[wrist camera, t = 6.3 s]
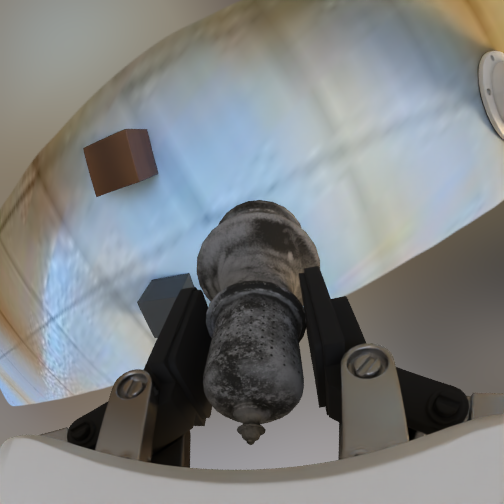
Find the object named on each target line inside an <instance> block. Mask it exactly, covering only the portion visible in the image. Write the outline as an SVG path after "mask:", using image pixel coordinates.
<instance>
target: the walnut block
mask: <svg viewBox="0 0 504 504" xmlns="http://www.w3.org/2000/svg"><path fill="white" fill-rule="evenodd" d="M83 149H84V154H85V158H86V162H87V165H88V169H89V173H90V177H91V180H92V184H93V187H94V190H95V194H96V197H98V196H101V195H104V194H106V193H109V192H112V191H115V190H117V189H120V188H123V187H126V186H129V185H132V184H135V183H138V182H140V181H143V180H145V179H147V178H150V177H152V176H154V175H157V174H158V171H157V167H156V163H155V160H154V156H153V152H152V148H151V144H150V140H149V136H148V132H147V129H124V130H122V131H120V132H117V133H115V134H113V135H110V136H108V137H106V138H104V139H102V140H99V141H97V142H95V143H93V144H91V145H89V146H87V147H85V148H83Z"/></svg>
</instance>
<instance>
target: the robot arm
mask: <svg viewBox="0 0 504 504" xmlns="http://www.w3.org/2000/svg"><path fill="white" fill-rule="evenodd" d="M478 77H479V87H480V92H481V97H482V100H483V104H484V107H485V110H486V113H487V115H488V117H489V119H490V122H491V123H492V125H493V127H494V129H495V130H496V132H497V133H498V134H499V136H500V137H501V138H502V139H503V140H504V53H502V52H499V51H490V52H487V53H485V54H484V55H483V56H482V58H481V60H480V64H479V74H478ZM299 280H300V287H301V293H302V300H303V307H304V311H305V316H306V329H307V336H308V341H309V347H310V353H311V359H312V364H313V370H314V376H315V383H316V389H317V395H318V402H319V407H325V406H326V412H327V415H329V417H330V418H332V419H334V420H336V421H338V422H339V460H336V461H331V462H325V463H319V464H312V465H305V466H297V467H287V468H276V469H257V470H213V469H197V468H190V429H192V428H193V426H205V421H206V418H209V417H210V415H211V410H212V405H211V404H210V402H209V401H208V399H207V397H206V395H205V393H204V386H203V375H204V371H205V366H206V362H207V357H208V353H209V349H210V344H211V340H212V338H211V336H210V334H209V331H208V329H207V326H206V313H207V310H208V306H207V303H206V300H205V298H204V295H203V292H202V291H201V290H197V288H196V287H191V288H185V289H181V290H180V292H179V294H178V296H177V298H176V300H175V302H174V304H173V306H172V308H171V310H170V313H169V315H168V317H167V319H166V321H165V323H164V325H163V328H162V330H161V332H160V334H159V336H158V339H157V341H156V343H155V345H154V347H153V350H152V352H151V354H150V357H149V359H148V361H147V364H146V366H145V368H144V370H138V369H136V370H131V371H128V372H126V373H124V374H123V375H122V376H120V377H119V378H118V379H117V380H116V382H115V384H114V386H113V388H112V391H111V394H110V398H109V401H108V402H106V403H105V404H103V405H101V406H100V407H98V408H96V409H94V410H93V411H91V412H89V413H88V414H86V415H84V416H82V417H80V418H79V419H77V420H76V421H74V422H73V423H72V425H71V426H70V427H69V429H68V428H63V429H59V430H56V431H53V432H49V433H45V434H41V435H20V436H15V437H12V438H9V439H8V440H6V441H5V442H4V443H3V444H2V446H1V447H0V504H504V394H495V393H494V394H493V393H473V394H472V396H466V395H465V394H464V393H463V392H462V391H461V390H460V389H458V388H456V387H454V386H451V385H447V384H444V383H441V382H438V381H435V380H432V379H429V378H426V377H423V376H420V375H417V374H414V373H411V372H409V371H406V370H403V369H400V368H397V367H396V366H395V362H394V358H393V356H392V354H391V353H390V351H389V350H388V349H386V348H385V347H383V346H381V345H377V344H366V341H365V339H364V337H363V334H362V332H361V329H360V327H359V324H358V322H357V320H356V317H355V315H354V313H353V311H352V308H351V306H350V304H349V302H348V299H347V297H346V296H344V297H339V298H334V299H330V296H329V293H328V290H327V288H326V285H325V282H324V279H323V277H322V274H321V271H320V269H319V266H314V267H309V268H304V272H303V273H299Z"/></svg>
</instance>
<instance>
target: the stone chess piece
mask: <svg viewBox="0 0 504 504" xmlns="http://www.w3.org/2000/svg"><path fill="white" fill-rule="evenodd" d="M314 266H319V269H320V259H319V256H318V253H317V250H316V247H315V245H314V243H313V242H312V240H311V239H310V237H309V236H308V234H307V233H306V232H305V231H304V230H303V229H302V228H301V225H300V223H299V222H298V220H297V219H296V218H295V216H294V215H293V214H292V213H291V212H290V211H288V210H287V209H286V208H285V207H283V206H281V205H278V204H276V203H274V202H269V201H263V200H257V201H248V202H245V203H243V204H240V205H237V206H236V207H234V208H233V209H231V210H230V211H229V212H227V213H226V215H225V216H224V217H223V218H222V220H221V221H220V222H219V225H218V226H217V227H216V228H214V229H213V230H212V231H211V233H210V234H209V235H208V237H207V238H206V239H205V240H204V242H203V244H202V246H201V249H200V252H199V254H198V257H197V275H198V280H199V284H200V286H201V288H202V290H203V292H204V294H205V295H206V297H207V298H208V299H209V300H210V301H211V302H210V305H209V307H208V310H207V313H206V326H207V329H208V331H209V334H210V336H211V338H212V340H211V344H210V349H209V353H208V357H207V362H206V366H205V371H204V375H203V386H204V393H205V395H206V397H207V399H208V401H209V402H210V404H211V405H212V406H213V407H214V408H215V409H216V411H218V412H219V413H221V414H222V415H224V416H225V417H228V418H230V419H232V420H235V421H237V422H241V423H243V425H241V426H239V427H238V429H237V431H238V433H239V434H241V435H242V438H243V439H244V440H246V441H247V443H248V444H250V445H252V444H254V442H255V441H256V440H258V439H259V437H260V435H262V434H264V433H265V429H264V427H263V426H261V425H260V424H263V423H268V422H271V421H274V420H277V419H280V418H282V417H284V416H285V415H287V414H288V413H290V412H291V410H293V408H294V407H295V406H296V405H297V404H298V403H299V401H300V398H301V397H302V393H303V388H304V378H303V370H302V362H301V355H300V349H299V342H300V340H301V339H302V338H303V336H304V333H305V330H306V316H305V311H304V308H303V300H302V293H301V287H300V280H299V273H303V272H304V268H309V267H314Z"/></svg>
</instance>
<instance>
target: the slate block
mask: <svg viewBox="0 0 504 504" xmlns="http://www.w3.org/2000/svg"><path fill="white" fill-rule="evenodd" d="M191 287H194V285H193V283H192V280H191V277H190V274H189V273H188V274H183V275H177V276H172V277H166V278H160V279H155V280H152V281H151V282H150V284H149V285H148V287H147V288H146V290H145V291H144V293H143V294H142V296H141V298H140V299H139V301H138V302H137V303H138V305H139V307H140V310H141V312H142V314H143V316H144V318H145V320H146V322H147V324H148V326H149V328H150V330H151V332H152V334H153V336H154V338H158V336H159V334H160V332H161V330H162V328H163V325H164V323H165V321H166V319H167V317H168V315H169V313H170V310H171V308H172V306H173V304H174V302H175V300H176V298H177V296H178V294H179V292H180V290H181V289H185V288H191Z"/></svg>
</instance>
